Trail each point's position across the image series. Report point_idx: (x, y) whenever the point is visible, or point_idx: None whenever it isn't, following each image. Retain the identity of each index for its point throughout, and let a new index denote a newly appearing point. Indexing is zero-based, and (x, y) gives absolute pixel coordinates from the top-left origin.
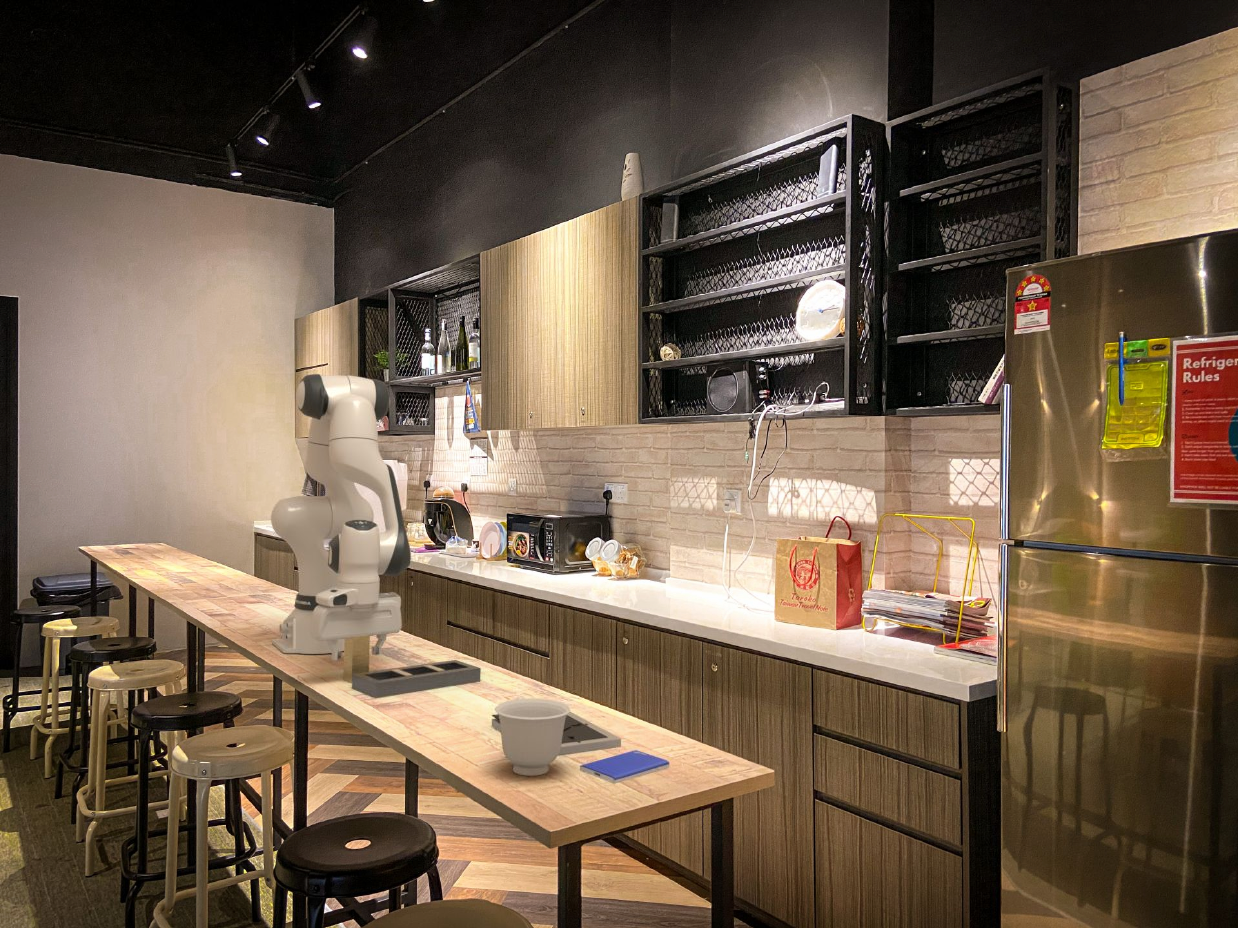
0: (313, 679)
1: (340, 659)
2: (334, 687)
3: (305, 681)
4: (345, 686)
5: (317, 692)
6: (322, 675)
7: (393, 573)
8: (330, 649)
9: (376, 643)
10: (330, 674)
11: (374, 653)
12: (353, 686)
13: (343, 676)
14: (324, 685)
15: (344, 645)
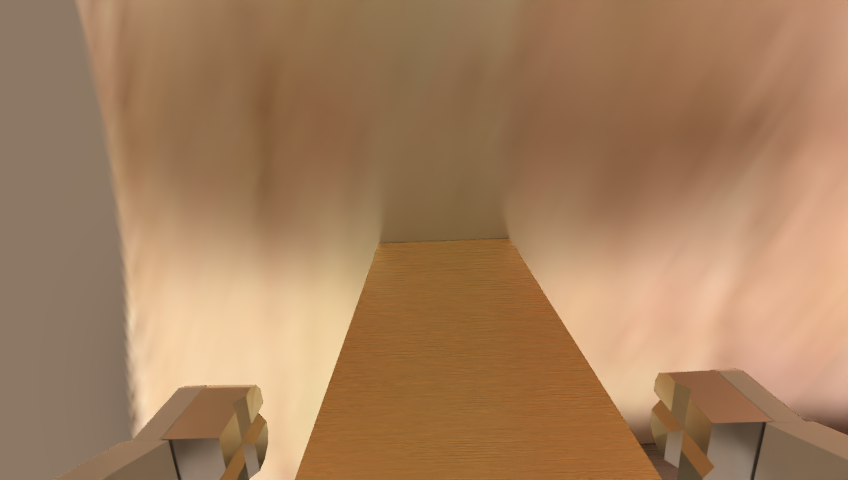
0: (192, 113)
1: (265, 434)
2: None
3: (123, 145)
4: None
5: None
6: (294, 10)
7: None
8: (95, 460)
9: (811, 450)
10: (364, 9)
11: (660, 433)
12: None
13: (376, 253)
14: (216, 320)
15: (322, 408)
